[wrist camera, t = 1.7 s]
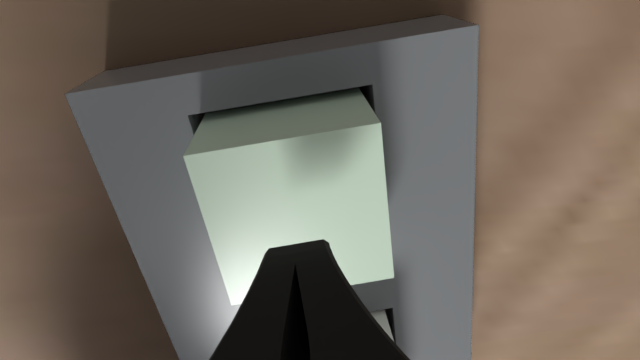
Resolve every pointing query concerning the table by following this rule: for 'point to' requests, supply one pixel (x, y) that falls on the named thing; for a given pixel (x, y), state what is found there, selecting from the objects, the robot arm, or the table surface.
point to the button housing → (288, 82)
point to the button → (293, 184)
